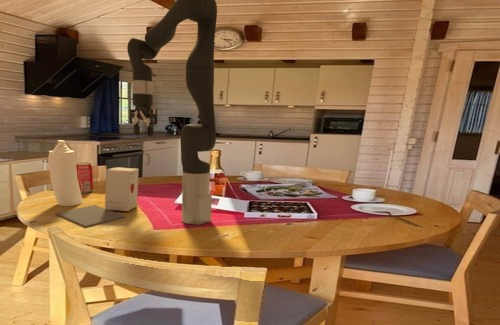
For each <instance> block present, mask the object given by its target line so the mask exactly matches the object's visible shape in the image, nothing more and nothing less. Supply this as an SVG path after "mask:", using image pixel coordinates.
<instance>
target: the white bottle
mask: <svg viewBox="0 0 500 325" xmlns="http://www.w3.org/2000/svg"><path fill="white" fill-rule="evenodd" d="M65 142H66V141H65V140H62V139H61V140H60V139H58V140H57V143H56V146H55V147H54V148H53V149H52V150H48V152H49V153H48V166H49V175H50V181H51V182H50V183H51V185H52V188H53V193H54V197H55V200H56V203H57V205H58V206H60V205H61V207H72V206H78V205H81V204H83V203H84V200H83V196H82V193H81V192H80V188H79V183H78V179H77V169H76V163H77V160H76V153H75V152H76V151H75V150H73V149H70V148H69V146H68V145H67V144H66V143H65Z"/></svg>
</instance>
